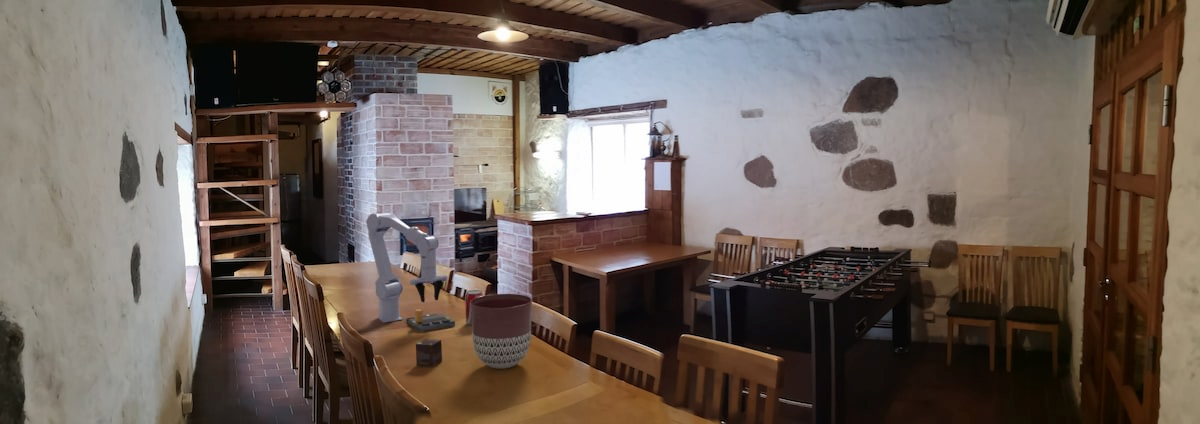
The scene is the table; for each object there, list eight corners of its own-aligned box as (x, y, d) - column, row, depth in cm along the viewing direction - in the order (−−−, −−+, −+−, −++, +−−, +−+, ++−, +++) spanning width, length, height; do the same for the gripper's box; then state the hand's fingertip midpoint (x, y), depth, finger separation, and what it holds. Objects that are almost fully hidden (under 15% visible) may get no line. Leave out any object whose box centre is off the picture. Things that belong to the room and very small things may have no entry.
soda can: (486, 321, 256) (485, 289, 255) (481, 326, 249) (480, 293, 247) (469, 321, 256) (468, 289, 255) (463, 325, 249) (462, 293, 248)
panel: (408, 323, 253) (408, 317, 252) (442, 318, 260) (442, 312, 260) (420, 332, 241) (419, 325, 241) (455, 326, 249) (454, 319, 249)
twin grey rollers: (405, 321, 256) (405, 317, 256) (436, 316, 263) (436, 313, 263) (408, 323, 253) (408, 319, 253) (439, 318, 260) (439, 314, 260)
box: (442, 361, 207) (442, 339, 207) (432, 367, 202) (431, 345, 201) (426, 359, 209) (426, 338, 209) (415, 365, 204) (415, 343, 203)
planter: (515, 380, 190) (513, 310, 188) (459, 372, 197) (457, 305, 195) (543, 360, 208) (542, 296, 206) (491, 353, 215) (489, 291, 213)
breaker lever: (415, 320, 248) (414, 309, 248) (420, 319, 250) (419, 309, 249) (417, 322, 246) (417, 311, 245) (422, 321, 247) (422, 310, 247)
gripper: (413, 270, 241) (414, 305, 242) (449, 266, 249) (450, 300, 250) (407, 267, 247) (408, 301, 248) (443, 263, 255) (444, 296, 256)
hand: (429, 300), depth 250 cm, fingers open, 5 cm apart
